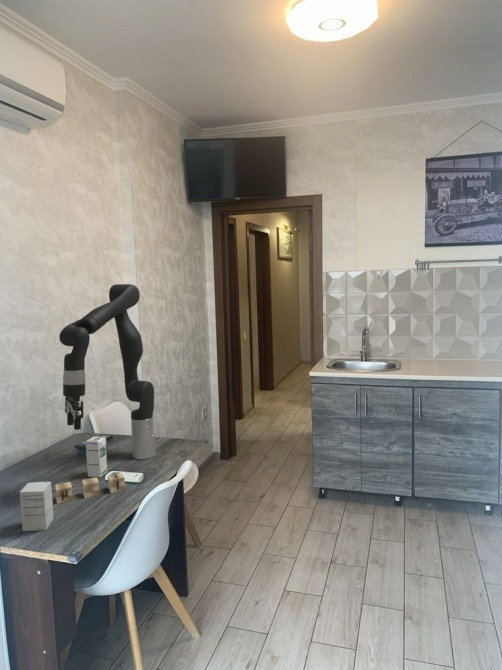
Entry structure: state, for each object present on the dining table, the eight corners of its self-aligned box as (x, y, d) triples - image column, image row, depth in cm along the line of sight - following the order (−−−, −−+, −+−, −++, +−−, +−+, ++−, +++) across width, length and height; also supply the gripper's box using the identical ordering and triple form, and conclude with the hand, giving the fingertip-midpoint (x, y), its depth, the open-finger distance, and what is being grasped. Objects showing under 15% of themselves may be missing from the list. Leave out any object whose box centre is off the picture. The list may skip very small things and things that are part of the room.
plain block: (97, 490, 177) (96, 477, 177) (99, 495, 173) (98, 482, 172) (82, 493, 175) (82, 479, 174) (84, 498, 170) (84, 484, 170)
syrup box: (101, 477, 189) (99, 441, 187) (87, 476, 190) (85, 440, 188) (108, 472, 194) (106, 436, 193) (94, 471, 195) (92, 436, 194)
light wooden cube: (71, 495, 173) (70, 481, 173) (72, 501, 169) (71, 487, 168) (56, 498, 171) (55, 484, 171) (57, 504, 166) (56, 490, 166)
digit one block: (122, 485, 181) (121, 472, 180) (125, 490, 176) (124, 477, 176) (108, 488, 179) (107, 474, 178) (111, 493, 174) (110, 479, 174)
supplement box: (30, 520, 155) (27, 482, 154) (54, 518, 156) (52, 480, 154) (21, 531, 148) (18, 491, 146) (46, 530, 148) (44, 490, 147)
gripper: (91, 384, 171) (90, 429, 171) (78, 379, 183) (78, 422, 183) (69, 385, 167) (68, 432, 167) (58, 380, 178) (57, 424, 179)
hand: (73, 427), depth 175 cm, fingers open, 8 cm apart
